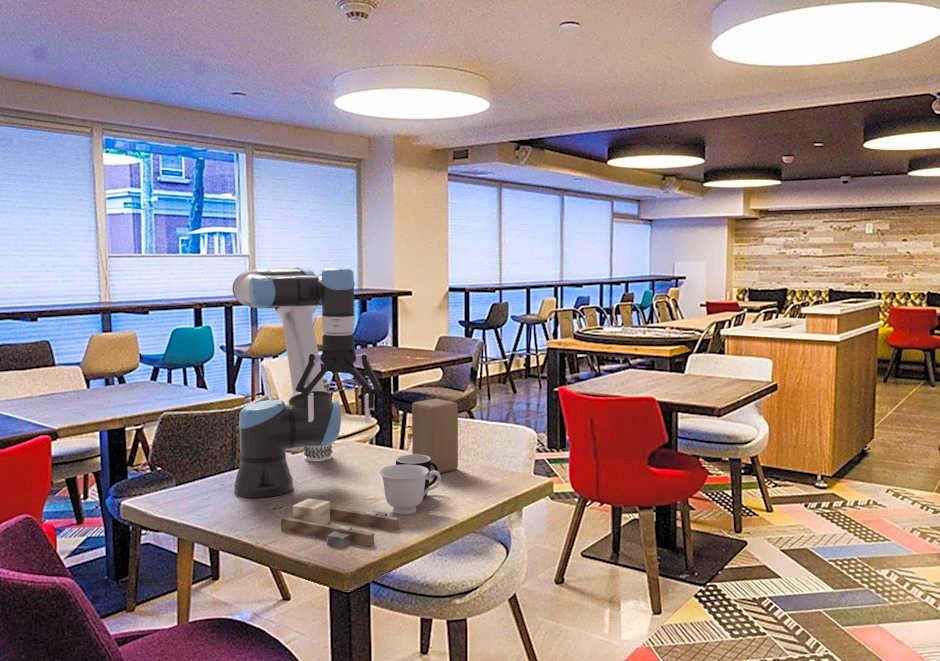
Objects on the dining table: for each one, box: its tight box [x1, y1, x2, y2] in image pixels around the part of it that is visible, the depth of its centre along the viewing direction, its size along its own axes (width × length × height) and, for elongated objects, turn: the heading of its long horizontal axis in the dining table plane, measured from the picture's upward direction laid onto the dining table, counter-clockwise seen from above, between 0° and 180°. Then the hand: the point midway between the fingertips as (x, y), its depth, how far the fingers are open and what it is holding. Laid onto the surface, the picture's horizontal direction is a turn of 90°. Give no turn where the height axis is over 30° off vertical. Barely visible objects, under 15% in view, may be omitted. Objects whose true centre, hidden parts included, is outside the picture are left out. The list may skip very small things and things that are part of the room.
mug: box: [395, 453, 438, 500], centre depth 197 cm, size 12×9×10 cm
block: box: [411, 398, 459, 474], centre depth 221 cm, size 10×10×20 cm
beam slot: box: [280, 505, 400, 548], centre depth 173 cm, size 24×18×3 cm
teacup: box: [379, 464, 442, 516], centre depth 185 cm, size 12×15×10 cm
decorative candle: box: [303, 376, 333, 462], centre depth 234 cm, size 9×9×25 cm
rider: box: [292, 497, 331, 524], centre depth 176 cm, size 6×6×5 cm
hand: (339, 421), depth 183 cm, fingers open, 13 cm apart
